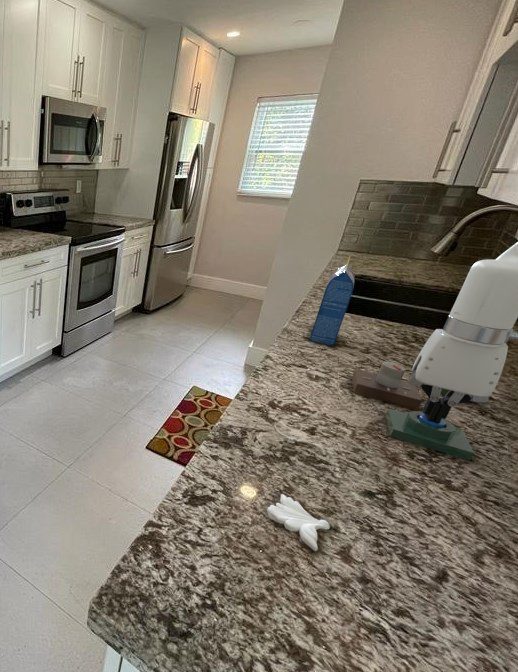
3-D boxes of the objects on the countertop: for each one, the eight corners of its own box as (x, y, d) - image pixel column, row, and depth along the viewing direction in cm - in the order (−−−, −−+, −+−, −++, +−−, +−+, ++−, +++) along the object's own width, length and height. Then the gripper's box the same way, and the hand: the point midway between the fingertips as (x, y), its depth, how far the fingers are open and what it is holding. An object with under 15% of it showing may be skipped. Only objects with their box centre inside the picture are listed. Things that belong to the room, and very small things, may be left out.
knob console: (410, 394, 95) (415, 382, 94) (416, 412, 88) (422, 399, 87) (351, 379, 101) (355, 368, 100) (352, 394, 94) (357, 383, 93)
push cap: (439, 426, 79) (443, 418, 79) (443, 436, 77) (447, 427, 76) (414, 419, 81) (418, 411, 81) (417, 428, 79) (421, 419, 78)
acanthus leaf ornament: (314, 555, 55) (319, 545, 54) (260, 521, 60) (263, 511, 59) (332, 526, 60) (336, 516, 59) (280, 497, 64) (283, 487, 64)
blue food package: (307, 341, 122) (334, 259, 113) (312, 330, 131) (337, 253, 122) (333, 348, 118) (363, 264, 109) (336, 336, 127) (363, 257, 118)
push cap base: (457, 437, 80) (465, 420, 79) (469, 463, 74) (479, 444, 72) (384, 417, 86) (391, 400, 85) (389, 438, 80) (397, 421, 78)
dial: (371, 377, 96) (378, 359, 94) (391, 380, 95) (398, 361, 93) (381, 386, 92) (389, 367, 91) (402, 389, 92) (410, 370, 90)
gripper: (530, 336, 71) (481, 424, 77) (414, 315, 79) (379, 396, 85) (547, 350, 65) (493, 445, 71) (421, 326, 73) (383, 413, 80)
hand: (431, 418), depth 78 cm, fingers closed
